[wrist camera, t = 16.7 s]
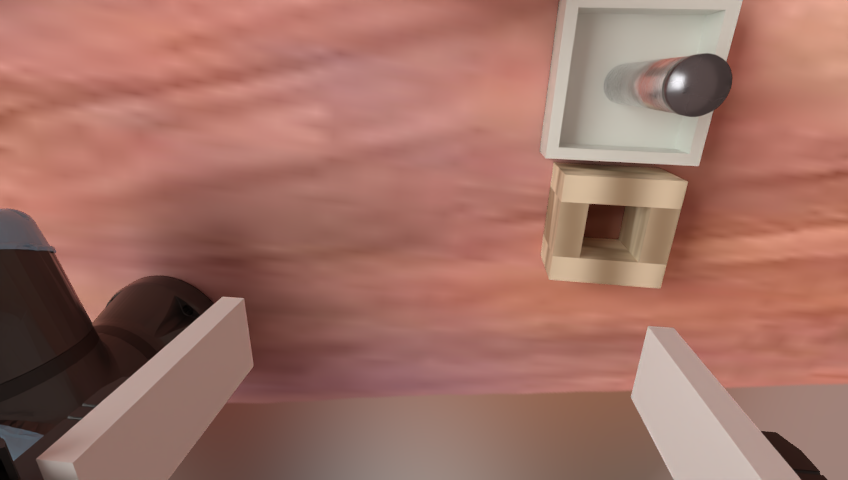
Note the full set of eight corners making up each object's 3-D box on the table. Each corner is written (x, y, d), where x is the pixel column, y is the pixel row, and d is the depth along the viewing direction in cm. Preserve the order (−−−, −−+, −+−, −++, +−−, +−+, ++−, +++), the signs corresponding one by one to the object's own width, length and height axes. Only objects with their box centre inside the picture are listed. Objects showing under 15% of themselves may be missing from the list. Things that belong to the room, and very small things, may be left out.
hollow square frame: (540, 255, 45) (549, 279, 40) (553, 162, 42) (565, 174, 36) (637, 262, 44) (660, 288, 39) (659, 167, 41) (688, 181, 35)
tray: (539, 151, 42) (545, 158, 38) (558, 1, 37) (567, -8, 33) (678, 158, 40) (698, 166, 37) (716, 3, 36) (744, -5, 32)
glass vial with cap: (599, 103, 39) (660, 115, 26) (606, 62, 37) (675, 52, 24) (639, 105, 38) (722, 118, 25) (648, 63, 37) (739, 54, 24)
